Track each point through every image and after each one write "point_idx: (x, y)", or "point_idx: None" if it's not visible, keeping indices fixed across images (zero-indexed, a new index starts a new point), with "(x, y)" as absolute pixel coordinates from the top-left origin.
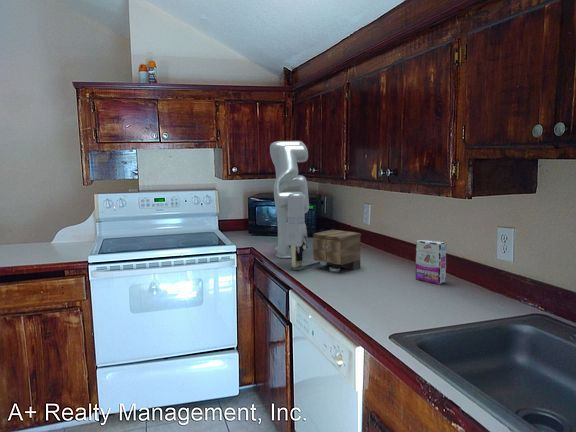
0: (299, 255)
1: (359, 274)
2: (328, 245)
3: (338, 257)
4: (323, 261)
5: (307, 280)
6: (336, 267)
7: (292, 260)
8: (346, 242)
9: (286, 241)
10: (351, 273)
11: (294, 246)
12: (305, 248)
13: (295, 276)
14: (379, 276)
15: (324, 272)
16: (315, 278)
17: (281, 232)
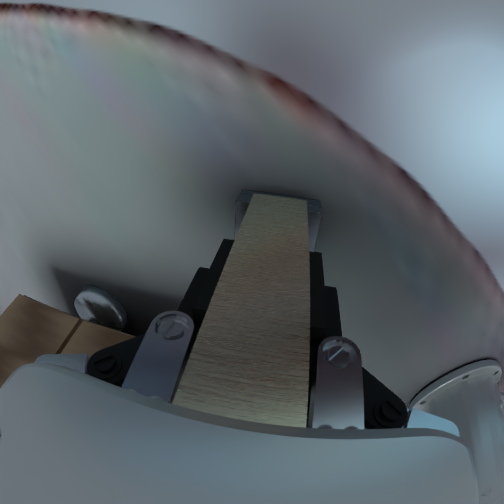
0: (190, 295)
1: (30, 291)
2: None
3: (4, 318)
4: (111, 329)
5: (48, 69)
6: (96, 321)
7: (296, 231)
8: None
9: (455, 484)
10: (45, 292)
11: (200, 401)
12: (56, 357)
13: (148, 60)
14: (6, 293)
15: (99, 257)
16: (45, 130)
17: (498, 475)
